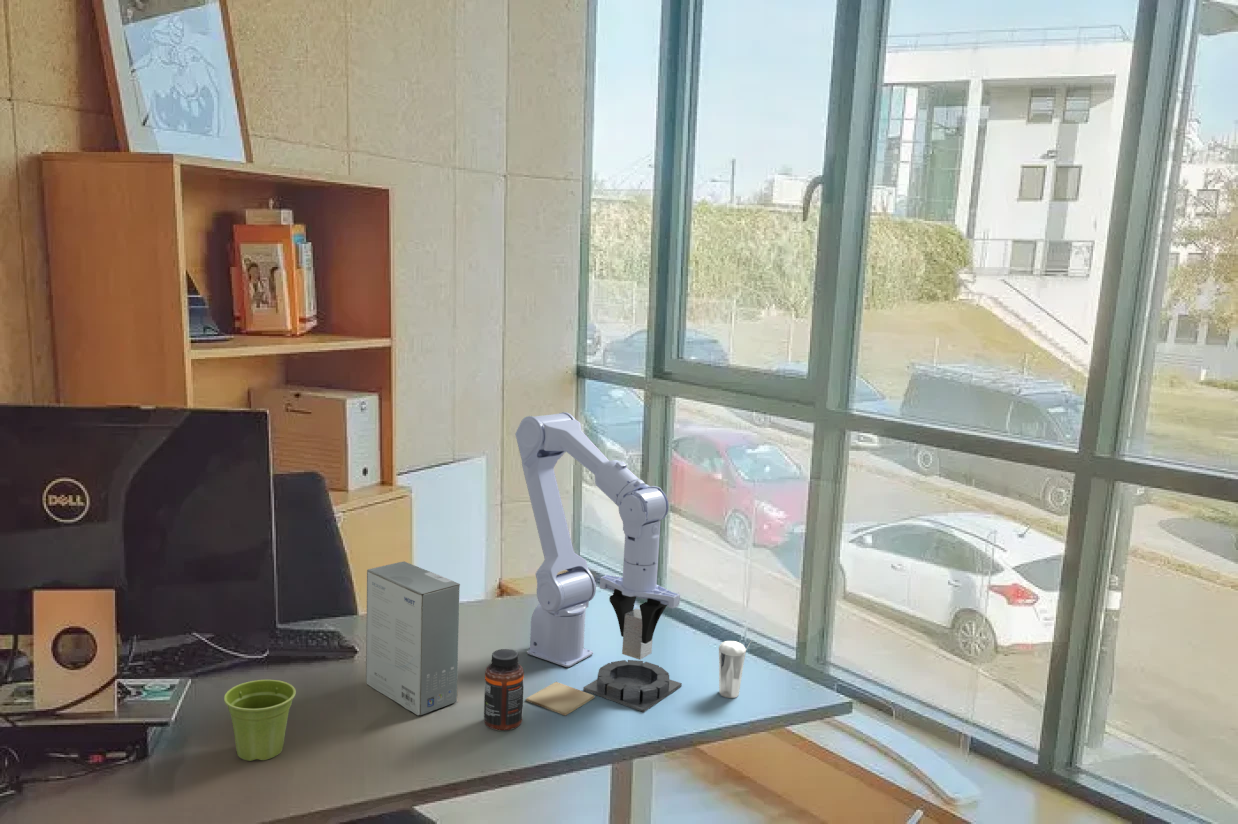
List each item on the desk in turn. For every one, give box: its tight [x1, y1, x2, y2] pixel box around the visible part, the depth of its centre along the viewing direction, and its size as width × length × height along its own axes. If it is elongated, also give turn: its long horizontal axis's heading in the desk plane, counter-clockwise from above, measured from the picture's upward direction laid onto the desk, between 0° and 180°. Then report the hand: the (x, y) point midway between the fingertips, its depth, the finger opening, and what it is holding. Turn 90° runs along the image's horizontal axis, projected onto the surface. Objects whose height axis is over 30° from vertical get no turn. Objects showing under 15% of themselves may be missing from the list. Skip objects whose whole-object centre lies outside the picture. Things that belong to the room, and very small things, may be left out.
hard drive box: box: [365, 560, 461, 716], centre depth 154 cm, size 16×8×20 cm, turn 47°
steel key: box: [621, 608, 653, 661], centre depth 160 cm, size 4×4×7 cm
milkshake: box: [718, 639, 753, 699], centre depth 160 cm, size 4×5×10 cm
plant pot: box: [223, 679, 297, 762], centre depth 135 cm, size 9×9×9 cm
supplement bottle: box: [483, 648, 525, 732], centre depth 146 cm, size 6×6×11 cm
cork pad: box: [525, 681, 596, 716], centre depth 156 cm, size 8×8×1 cm
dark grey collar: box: [582, 659, 683, 713], centre depth 161 cm, size 12×12×2 cm
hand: (636, 638), depth 160 cm, fingers closed on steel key, 4 cm apart
